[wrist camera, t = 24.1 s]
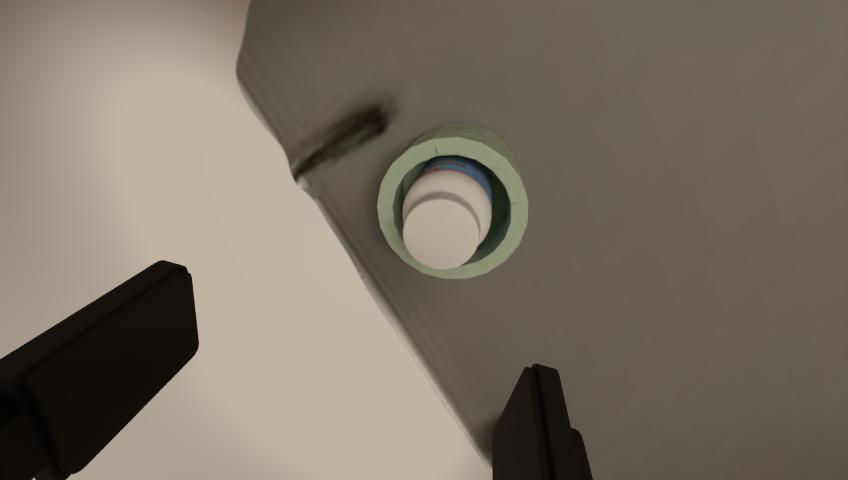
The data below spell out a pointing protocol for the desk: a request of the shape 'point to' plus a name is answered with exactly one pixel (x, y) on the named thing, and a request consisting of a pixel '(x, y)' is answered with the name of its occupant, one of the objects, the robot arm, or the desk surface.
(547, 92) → the desk surface
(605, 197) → the desk surface
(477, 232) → the pill bottle
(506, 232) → the green cylindrical sleeve
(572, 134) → the desk surface
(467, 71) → the desk surface
